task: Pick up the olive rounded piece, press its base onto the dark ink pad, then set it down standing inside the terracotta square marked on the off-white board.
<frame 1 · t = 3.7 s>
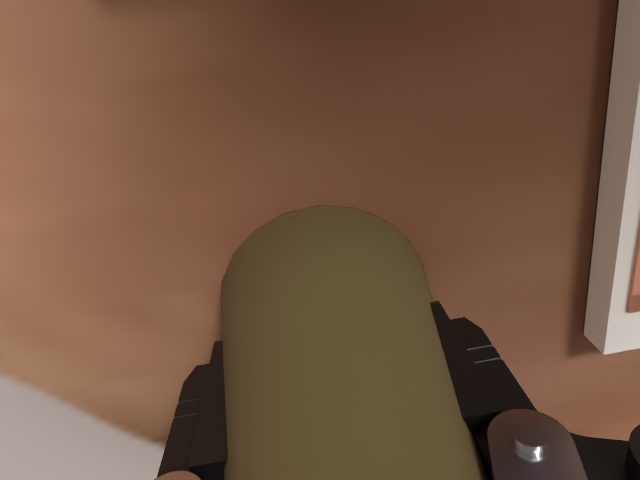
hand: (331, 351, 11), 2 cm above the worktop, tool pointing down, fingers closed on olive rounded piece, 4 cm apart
olive rounded piece: (324, 297, 13), on the worktop, touching gripper
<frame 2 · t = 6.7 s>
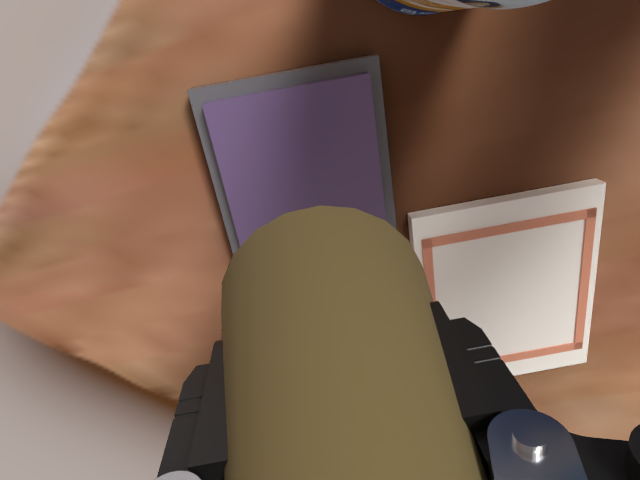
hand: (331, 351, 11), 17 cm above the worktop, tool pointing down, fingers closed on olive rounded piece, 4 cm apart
ink pad: (301, 169, 26), on the worktop
olive rounded piece: (324, 298, 13), point 14 cm above the worktop, touching gripper
marked board: (500, 289, 31), on the worktop
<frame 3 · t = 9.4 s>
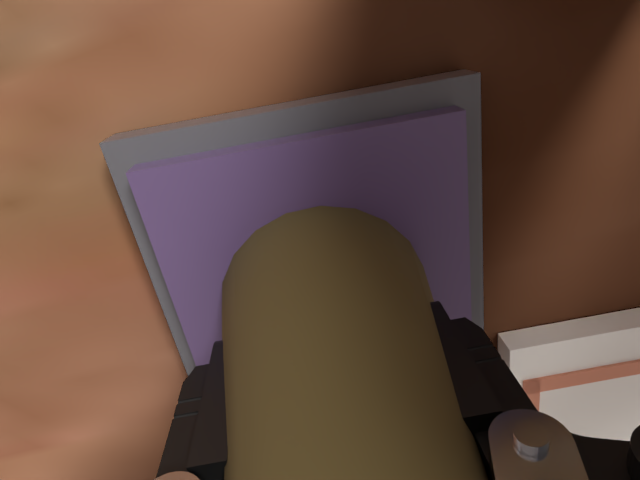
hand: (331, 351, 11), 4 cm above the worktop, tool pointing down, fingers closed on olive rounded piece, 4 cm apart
ink pad: (321, 269, 15), on the worktop
olive rounded piece: (324, 298, 13), point 2 cm above the worktop, touching gripper, ink pad
marked board: (632, 436, 20), on the worktop
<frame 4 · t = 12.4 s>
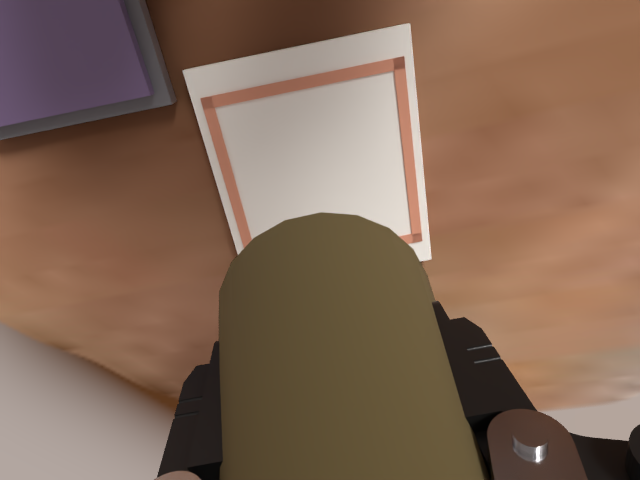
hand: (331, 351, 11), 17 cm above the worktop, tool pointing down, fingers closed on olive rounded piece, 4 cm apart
ink pad: (44, 9, 23), on the worktop
olive rounded piece: (325, 307, 13), point 15 cm above the worktop, touching gripper
marked board: (319, 170, 27), on the worktop
when the fingers open (5 cm above the worktop, at t = 15.3 s): olive rounded piece drops 2 cm, resting on marked board.
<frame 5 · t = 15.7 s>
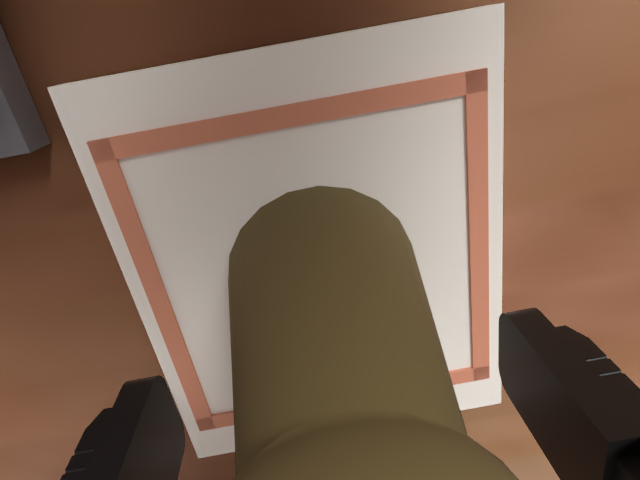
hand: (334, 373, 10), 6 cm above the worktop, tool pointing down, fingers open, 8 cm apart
olive rounded piece: (321, 272, 15), point 1 cm above the worktop, touching marked board
marked board: (317, 263, 15), on the worktop
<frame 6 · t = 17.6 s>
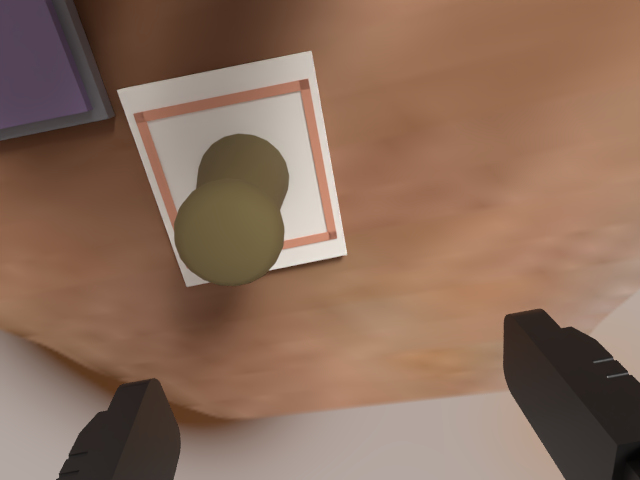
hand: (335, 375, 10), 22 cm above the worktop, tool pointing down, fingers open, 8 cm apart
olive rounded piece: (244, 178, 30), point 1 cm above the worktop, touching marked board
marked board: (244, 176, 31), on the worktop
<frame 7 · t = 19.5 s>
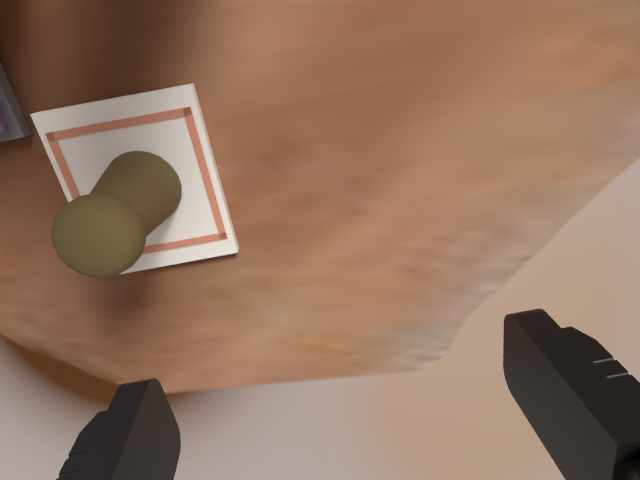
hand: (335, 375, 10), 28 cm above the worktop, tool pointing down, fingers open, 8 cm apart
olive rounded piece: (143, 187, 36), point 1 cm above the worktop, touching marked board
marked board: (145, 185, 37), on the worktop
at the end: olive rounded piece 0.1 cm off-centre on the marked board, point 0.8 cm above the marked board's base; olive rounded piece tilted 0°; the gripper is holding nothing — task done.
